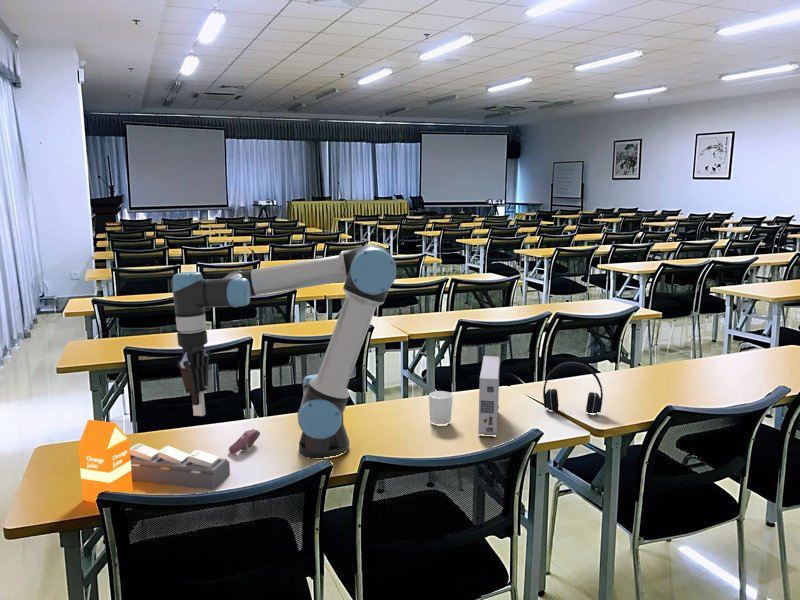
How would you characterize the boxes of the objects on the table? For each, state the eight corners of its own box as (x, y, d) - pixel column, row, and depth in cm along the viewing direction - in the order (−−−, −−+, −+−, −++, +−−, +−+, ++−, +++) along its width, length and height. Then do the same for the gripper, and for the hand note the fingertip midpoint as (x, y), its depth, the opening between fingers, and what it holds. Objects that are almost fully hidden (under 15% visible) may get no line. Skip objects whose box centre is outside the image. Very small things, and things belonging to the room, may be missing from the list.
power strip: (230, 474, 172) (229, 457, 172) (212, 489, 164) (211, 471, 163) (140, 464, 179) (139, 447, 178) (119, 478, 170) (118, 460, 170)
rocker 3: (218, 462, 170) (219, 456, 169) (211, 468, 166) (211, 462, 165) (195, 455, 171) (196, 449, 171) (187, 461, 167) (188, 455, 167)
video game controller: (238, 460, 186) (247, 441, 184) (226, 451, 187) (234, 433, 185) (256, 447, 195) (265, 429, 193) (245, 439, 196) (253, 421, 194)
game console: (498, 411, 223) (500, 356, 220) (496, 440, 197) (498, 379, 193) (482, 410, 224) (483, 355, 221) (478, 439, 198) (479, 378, 194)
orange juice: (105, 487, 165) (99, 414, 162) (133, 491, 163) (127, 417, 159) (82, 500, 158) (75, 424, 155) (111, 505, 155) (105, 428, 152)
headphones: (541, 413, 221) (544, 363, 218) (543, 407, 227) (545, 358, 224) (601, 419, 215) (604, 367, 212) (601, 412, 222) (604, 362, 219)
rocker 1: (159, 456, 174) (160, 450, 174) (150, 462, 170) (151, 456, 170) (137, 448, 175) (138, 442, 175) (128, 453, 171) (129, 448, 171)
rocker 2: (188, 460, 172) (189, 454, 171) (180, 466, 168) (181, 460, 168) (166, 450, 173) (167, 445, 173) (157, 456, 169) (158, 450, 169)
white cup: (457, 424, 210) (457, 395, 208) (438, 429, 206) (438, 399, 204) (442, 417, 217) (442, 389, 215) (423, 422, 212) (424, 393, 211)
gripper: (192, 324, 175) (199, 406, 179) (165, 335, 162) (173, 422, 166) (216, 325, 173) (223, 407, 177) (191, 336, 160) (199, 424, 164)
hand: (199, 414), depth 171 cm, fingers closed
